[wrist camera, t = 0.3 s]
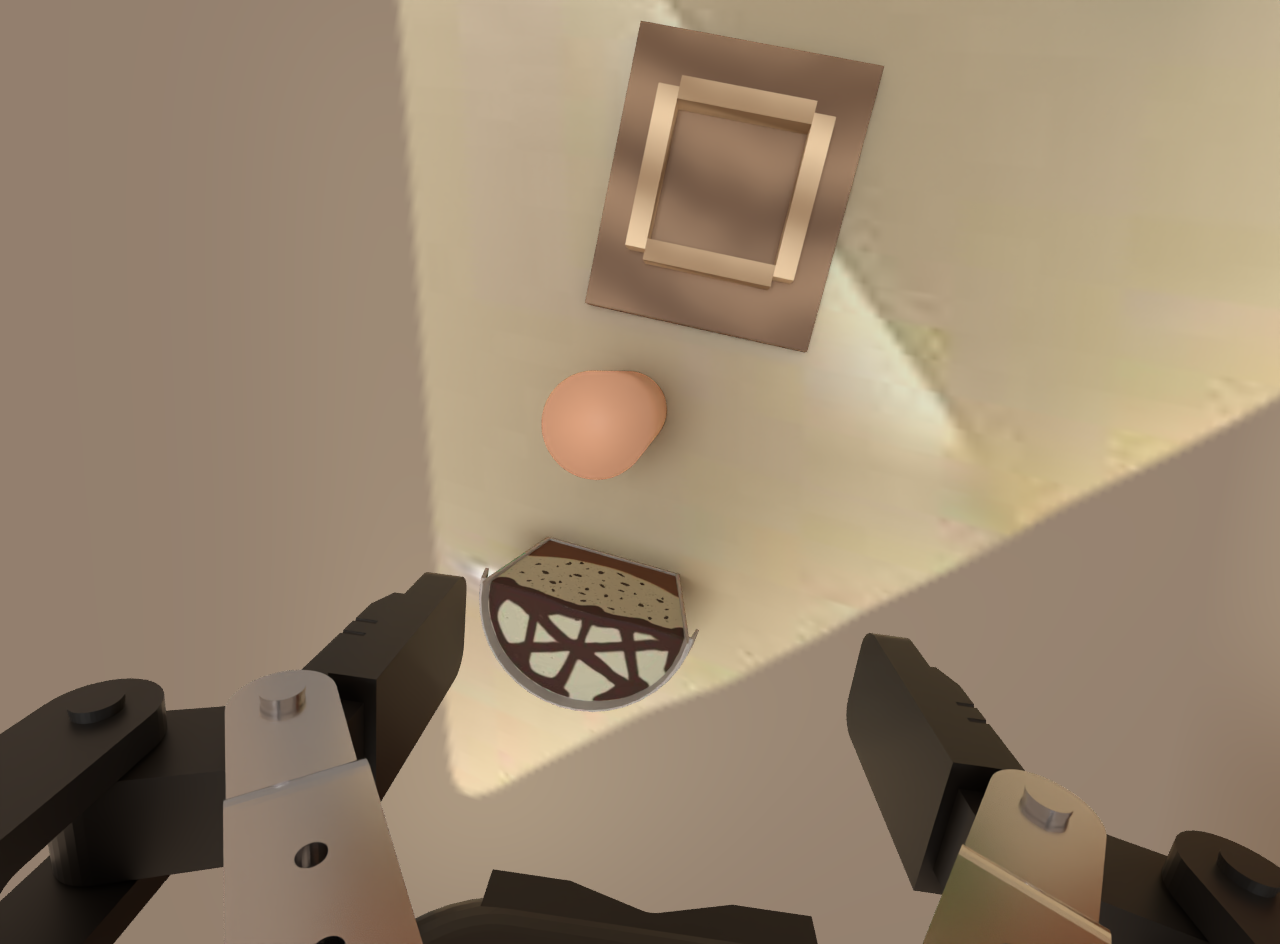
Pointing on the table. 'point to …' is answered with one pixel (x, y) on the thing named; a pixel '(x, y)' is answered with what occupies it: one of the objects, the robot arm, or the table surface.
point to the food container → (585, 625)
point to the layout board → (730, 183)
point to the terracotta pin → (602, 421)
